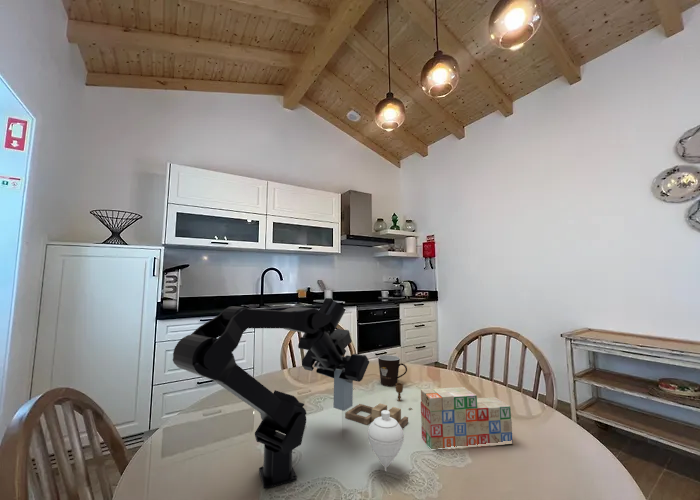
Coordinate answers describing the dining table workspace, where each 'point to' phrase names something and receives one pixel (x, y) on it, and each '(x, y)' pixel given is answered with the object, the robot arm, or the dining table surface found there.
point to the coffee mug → (389, 369)
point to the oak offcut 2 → (395, 413)
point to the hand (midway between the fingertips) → (346, 380)
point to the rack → (366, 420)
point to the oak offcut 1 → (378, 411)
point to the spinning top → (385, 438)
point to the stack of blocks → (463, 418)
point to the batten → (342, 392)
